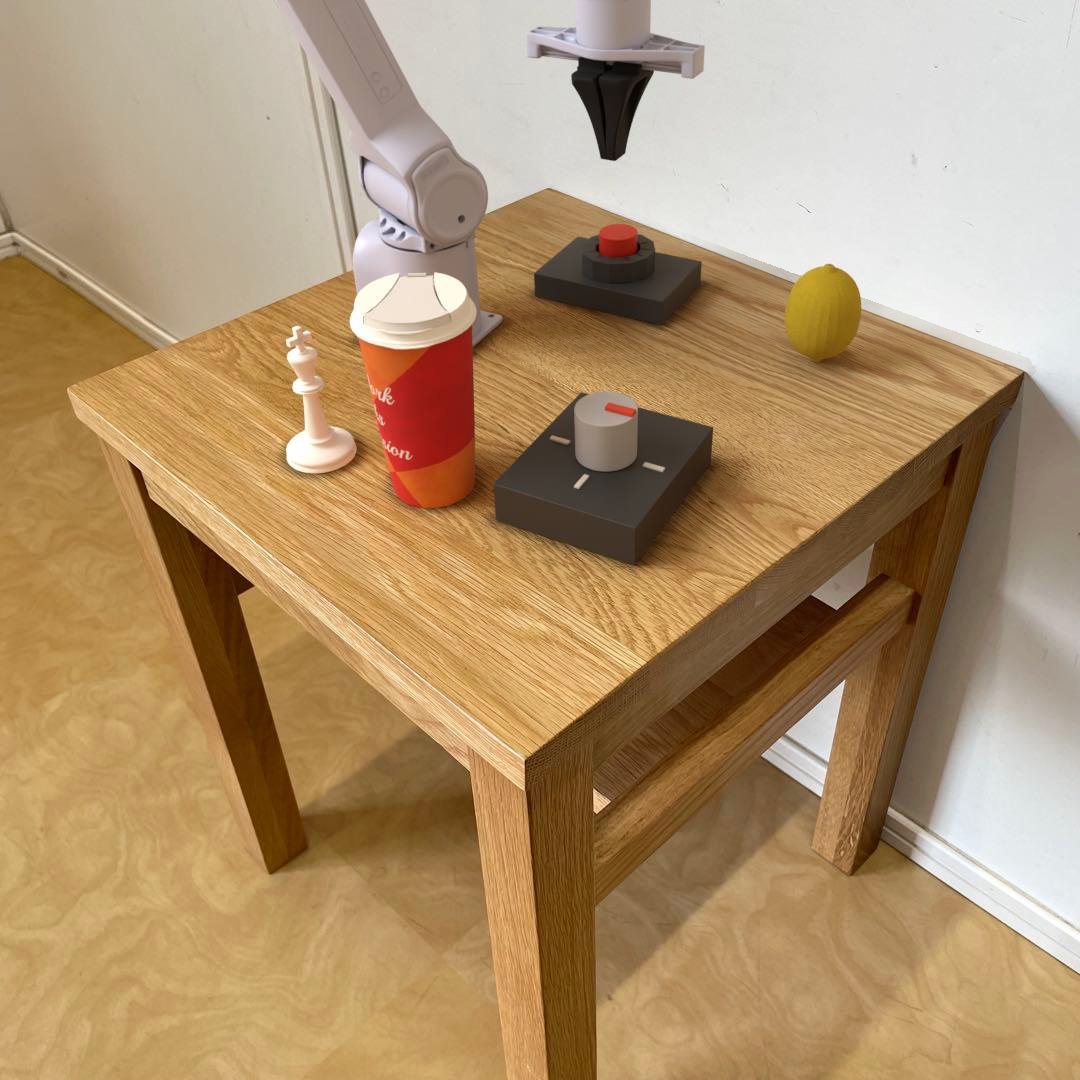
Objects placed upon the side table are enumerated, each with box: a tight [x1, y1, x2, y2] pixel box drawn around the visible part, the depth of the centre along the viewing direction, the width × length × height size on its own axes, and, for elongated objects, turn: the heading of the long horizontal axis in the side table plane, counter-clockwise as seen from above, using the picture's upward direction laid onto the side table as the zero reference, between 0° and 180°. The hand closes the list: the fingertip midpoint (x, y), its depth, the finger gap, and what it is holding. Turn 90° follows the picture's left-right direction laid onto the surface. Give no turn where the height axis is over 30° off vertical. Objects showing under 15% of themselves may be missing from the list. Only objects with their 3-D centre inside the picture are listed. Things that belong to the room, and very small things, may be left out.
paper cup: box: [349, 272, 477, 509], centre depth 71 cm, size 8×8×14 cm
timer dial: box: [574, 391, 638, 472], centre depth 71 cm, size 4×4×4 cm
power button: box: [598, 223, 638, 258], centre depth 93 cm, size 3×3×2 cm
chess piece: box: [285, 325, 358, 474], centre depth 76 cm, size 5×5×10 cm
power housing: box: [533, 233, 703, 326], centre depth 95 cm, size 12×8×4 cm, turn 61°
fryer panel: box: [492, 392, 714, 566], centre depth 73 cm, size 10×12×3 cm
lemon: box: [784, 263, 862, 363], centre depth 83 cm, size 6×6×8 cm
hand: (612, 156), depth 92 cm, fingers closed
